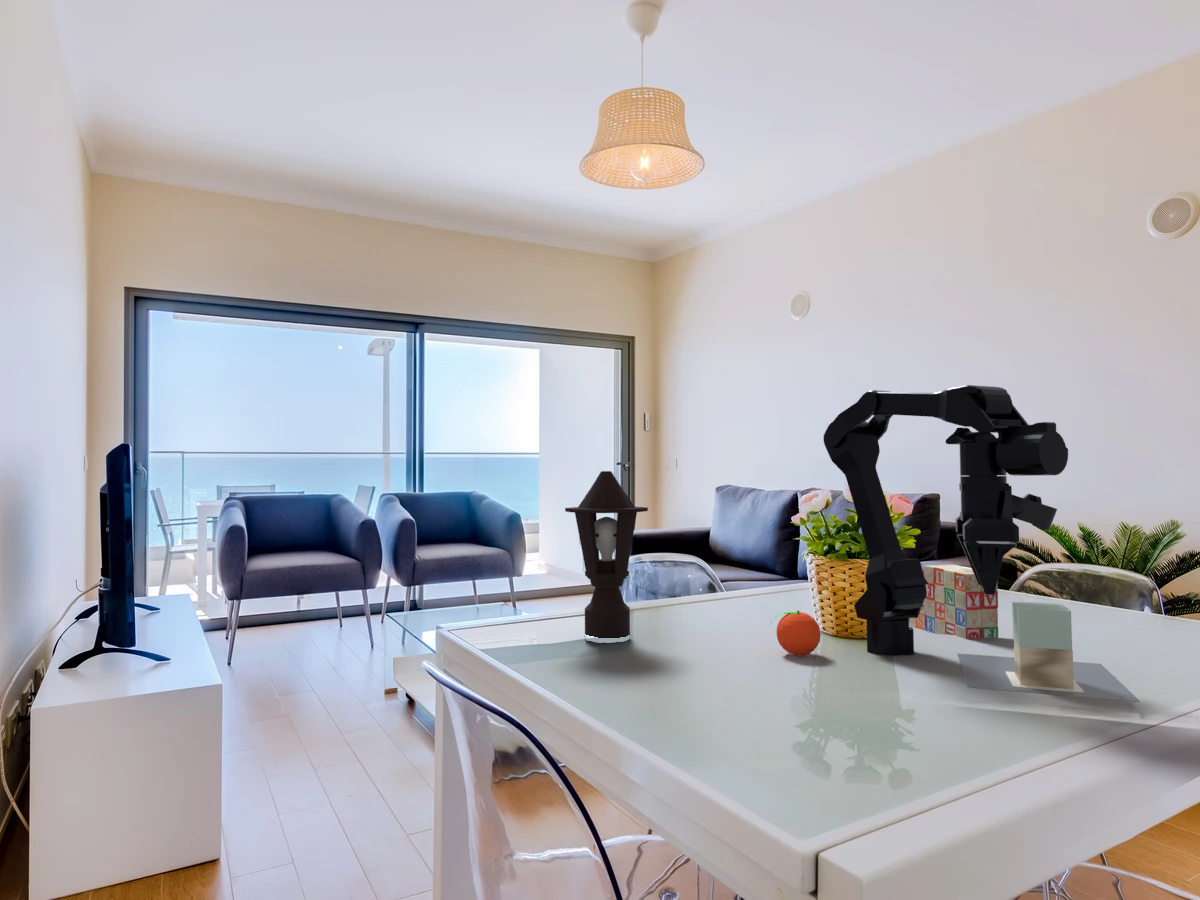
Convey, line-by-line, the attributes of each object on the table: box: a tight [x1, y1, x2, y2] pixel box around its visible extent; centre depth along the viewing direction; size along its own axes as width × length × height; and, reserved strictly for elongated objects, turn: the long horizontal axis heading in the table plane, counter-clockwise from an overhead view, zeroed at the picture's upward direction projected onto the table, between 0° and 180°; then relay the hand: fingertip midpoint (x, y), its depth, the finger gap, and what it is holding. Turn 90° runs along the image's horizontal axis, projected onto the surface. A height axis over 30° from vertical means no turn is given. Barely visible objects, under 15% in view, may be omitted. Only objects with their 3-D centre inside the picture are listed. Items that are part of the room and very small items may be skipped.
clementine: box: [769, 610, 821, 657], centre depth 121 cm, size 8×7×7 cm
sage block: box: [1011, 601, 1073, 650], centre depth 101 cm, size 6×6×5 cm
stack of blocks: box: [909, 564, 999, 640], centre depth 138 cm, size 21×6×12 cm, turn 9°
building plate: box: [957, 653, 1142, 703], centre depth 104 cm, size 19×20×1 cm
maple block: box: [1013, 639, 1074, 689], centre depth 100 cm, size 6×6×5 cm
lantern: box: [564, 470, 649, 638], centre depth 135 cm, size 15×15×30 cm
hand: (986, 589), depth 103 cm, fingers open, 9 cm apart
